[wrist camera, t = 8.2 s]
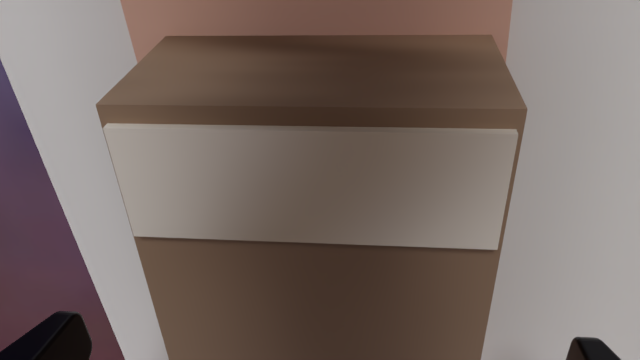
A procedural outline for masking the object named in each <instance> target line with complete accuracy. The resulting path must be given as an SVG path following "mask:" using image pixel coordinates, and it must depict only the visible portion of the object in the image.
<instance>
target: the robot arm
mask: <svg viewBox="0 0 640 360" xmlns="http://www.w3.org/2000/svg"><path fill="white" fill-rule="evenodd" d="M91 351H92V340H91V337H90V335H89V332H88V330H87V327H86V325H85V322H84V320H83V317H82V315H81V314H79V313H78V312H70V311H59V312H56V313H54V314H52V315H51V316H50V317H48V318H47V319H45V320H44V321H43V322H41V323H40V324H38V325H37V326H36V327H34V328H33V329H32V330H30V331H29V332H27V333H26V334H25V335H23V336H22V337H20V338H19V339H18V340H16V341H15V342H13V343H12V344H11V345H9V346H8V347H6V348H5V349H4V350H2V351H1V352H0V360H89V358H90V355H91ZM566 360H621V359H620V358H619V357H618V356H617V355H616V354H615V353H614V352H613V351H612V350H611V349H610V348H609V347H608V346H607V345H606V344H605V343H604V342H603V341H602V340H600V339H598V338H594V337H575V338H574V339H573V340H572V342H571V344H570V348H569V351H568V354H567V357H566Z"/></svg>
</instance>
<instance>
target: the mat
mask: <svg viewBox="0 0 640 360" xmlns="http://www.w3.org/2000/svg"><path fill="white" fill-rule="evenodd" d="M282 35H492V36H493V39H494V41H495V43H496V45H497V47H498V49H499V51H500V53H501V55H502V57H503V59H504V61H505V63H506V65H507V67H508V69H509V72H510V74H511V76H512V78H513V80H514V82H515V84H516V86H517V88H518V90H519V92H520V94H521V96H522V98H523V100H524V103H525V105H526V107H527V109H528V110H527V115H526V121H525V126H524V131H523V137H522V142H521V147H520V153H519V158H518V163H517V169H516V174H515V179H514V185H513V190H512V195H511V201H510V206H509V211H508V217H507V222H506V227H505V233H504V238H503V243H502V249H501V254H500V259H499V265H498V270H497V275H496V281H495V286H494V291H493V297H492V302H491V307H490V313H489V318H488V323H487V329H486V334H485V339H484V345H483V350H482V355H481V360H566V357H567V354H568V351H569V348H570V344H571V342H572V340H573V339H574V338H575V337H594V338H598V339H600V340H602V341H603V342H604V343H605V344H606V345H607V346H608V347H609V348H610V349H611V350H612V351H613V352H614V353H615V354H616V355H617V356H618V357H619V358H620V359H621V360H640V0H0V59H1V61H2V64H3V66H4V68H5V71H6V73H7V76H8V78H9V80H10V83H11V85H12V88H13V90H14V93H15V95H16V97H17V100H18V102H19V105H20V107H21V109H22V112H23V114H24V117H25V119H26V121H27V124H28V126H29V129H30V131H31V134H32V136H33V138H34V141H35V143H36V146H37V148H38V150H39V153H40V155H41V158H42V160H43V162H44V165H45V167H46V170H47V172H48V175H49V177H50V179H51V182H52V184H53V187H54V189H55V191H56V194H57V196H58V199H59V201H60V203H61V206H62V208H63V211H64V213H65V215H66V218H67V220H68V223H69V225H70V228H71V230H72V232H73V235H74V237H75V240H76V242H77V244H78V247H79V249H80V252H81V254H82V256H83V259H84V261H85V264H86V266H87V269H88V271H89V273H90V276H91V278H92V281H93V283H94V285H95V288H96V290H97V293H98V295H99V297H100V300H101V302H102V305H103V307H104V309H105V312H106V314H107V317H108V319H109V322H110V324H111V326H112V329H113V331H114V334H115V336H116V338H117V341H118V343H119V346H120V348H121V350H122V353H123V355H124V358H125V360H169V358H168V355H167V351H166V348H165V344H164V341H163V337H162V334H161V330H160V327H159V323H158V320H157V316H156V313H155V309H154V306H153V303H152V299H151V296H150V292H149V289H148V285H147V282H146V278H145V275H144V271H143V268H142V264H141V261H140V257H139V254H138V251H137V247H136V244H135V240H134V237H133V233H132V230H131V226H130V223H129V219H128V216H127V212H126V209H125V205H124V202H123V199H122V195H121V192H120V188H119V185H118V181H117V178H116V174H115V171H114V167H113V164H112V160H111V157H110V153H109V150H108V146H107V143H106V140H105V136H104V133H103V129H102V126H101V122H100V119H99V115H98V112H97V108H96V105H95V104H97V103H98V102H99V101H100V100H101V99H102V98H103V97H104V96H105V95H106V94H107V93H108V92H109V91H110V90H111V89H112V88H113V87H114V86H115V85H116V84H117V83H118V82H119V81H120V80H121V79H122V78H123V77H124V76H125V75H126V74H127V73H128V72H129V71H130V70H131V69H132V68H133V67H134V66H135V65H137V64H138V63H139V62H140V61H141V60H142V59H143V58H144V57H145V56H146V55H147V54H148V53H149V52H150V51H151V50H152V49H153V48H154V47H155V46H156V45H157V44H158V43H159V42H160V41H161V40H162V39H163V38H164V37H165V36H282Z"/></svg>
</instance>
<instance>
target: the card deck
mask: <svg viewBox="0 0 640 360" xmlns="http://www.w3.org/2000/svg"><path fill="white" fill-rule="evenodd" d="M95 105H96V108H97V112H98V115H99V119H100V122H101V126H102V129H103V133H104V136H105V140H106V143H107V146H108V150H109V153H110V157H111V160H112V164H113V167H114V171H115V174H116V178H117V181H118V185H119V188H120V192H121V195H122V199H123V202H124V205H125V209H126V212H127V216H128V219H129V223H130V226H131V230H132V233H133V237H134V240H135V244H136V247H137V251H138V254H139V257H140V261H141V264H142V268H143V271H144V275H145V278H146V282H147V285H148V289H149V292H150V296H151V299H152V303H153V306H154V309H155V313H156V316H157V320H158V323H159V327H160V330H161V334H162V337H163V341H164V344H165V348H166V351H167V355H168V358H169V360H481V355H482V350H483V345H484V339H485V334H486V329H487V323H488V318H489V313H490V307H491V302H492V297H493V291H494V286H495V281H496V275H497V270H498V265H499V259H500V254H501V249H502V243H503V238H504V233H505V227H506V222H507V217H508V211H509V206H510V201H511V195H512V190H513V185H514V179H515V174H516V169H517V163H518V158H519V153H520V147H521V142H522V137H523V131H524V126H525V121H526V115H527V110H528V109H527V107H526V105H525V103H524V100H523V98H522V96H521V94H520V92H519V90H518V88H517V86H516V84H515V82H514V80H513V78H512V76H511V74H510V72H509V69H508V67H507V65H506V63H505V61H504V59H503V57H502V55H501V53H500V51H499V49H498V47H497V45H496V43H495V41H494V39H493V36H492V35H282V36H165V37H164V38H163V39H162V40H161V41H160V42H159V43H158V44H157V45H156V46H155V47H154V48H153V49H152V50H151V51H150V52H149V53H148V54H147V55H146V56H145V57H144V58H143V59H142V60H141V61H140V62H139V63H138V64H137V65H135V66H134V67H133V68H132V69H131V70H130V71H129V72H128V73H127V74H126V75H125V76H124V77H123V78H122V79H121V80H120V81H119V82H118V83H117V84H116V85H115V86H114V87H113V88H112V89H111V90H110V91H109V92H108V93H107V94H106V95H105V96H104V97H103V98H102V99H101V100H100V101H99V102H98V103H97V104H95Z"/></svg>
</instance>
